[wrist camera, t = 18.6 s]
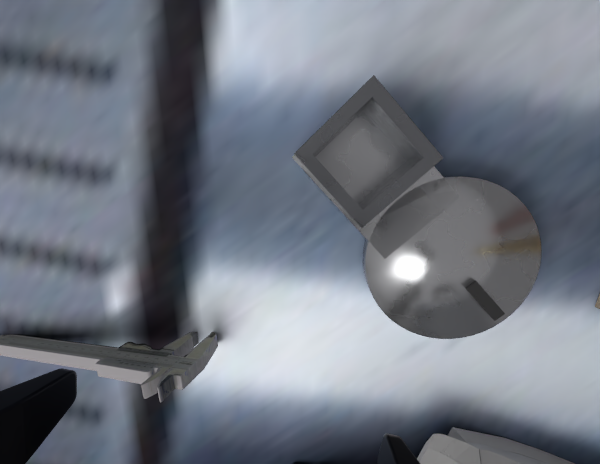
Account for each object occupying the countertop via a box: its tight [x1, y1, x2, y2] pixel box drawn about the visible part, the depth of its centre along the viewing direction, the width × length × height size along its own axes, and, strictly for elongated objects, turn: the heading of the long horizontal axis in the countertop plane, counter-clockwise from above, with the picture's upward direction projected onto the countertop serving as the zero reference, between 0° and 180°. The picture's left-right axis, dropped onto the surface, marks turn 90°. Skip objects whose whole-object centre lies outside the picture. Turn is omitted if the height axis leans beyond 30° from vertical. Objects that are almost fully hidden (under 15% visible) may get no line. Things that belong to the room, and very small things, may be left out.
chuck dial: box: [292, 76, 541, 339], centre depth 17 cm, size 18×11×4 cm, turn 43°
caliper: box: [0, 332, 218, 402], centre depth 20 cm, size 20×1×6 cm, turn 93°
